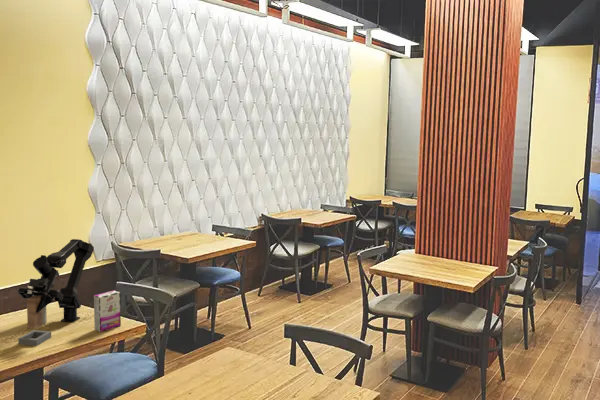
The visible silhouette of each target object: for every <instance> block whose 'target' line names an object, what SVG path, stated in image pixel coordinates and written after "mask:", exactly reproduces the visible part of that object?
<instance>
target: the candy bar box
mask: <svg viewBox="0 0 600 400" xmlns="http://www.w3.org/2000/svg"><path fill="white" fill-rule="evenodd" d="M93 314H94V315H93V317H94V318H93V319H94V322H93V323H94V330H95V331H97V332H100V333H101V332H104V331H108V330H111V329H112V330H113V329H115V328H118V327H121V325H122V322H121V319H122V318H121V292H120V291H117V290H110V291H107V292H102V293H99V294H94V295H93Z"/></svg>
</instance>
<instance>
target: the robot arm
mask: <svg viewBox="0 0 600 400" xmlns="http://www.w3.org/2000/svg"><path fill="white" fill-rule="evenodd" d="M94 251H95V248H94V246H93V244H92V243H89V242H86V241H84V240H82V239H81V238H80V239H78V238H72V239H70V240H69V242H68V243H67V244H66V245H64V246H63V247H62V248H61V249H59V250H58V251H56V252H51V253H50V254H48V255H45V254H43V255H42V254H41V255H40V257H38V258H36V259H35V260H34V261H33V263H32V266H33V267H34V269H35V270H36V271H37V273H39V274H40V275H41V276H40V277H39V278H37V279H35V278H30V279H29V283H28V286H32V287H33V290H35V291H32V290H30V289H29V288H28V287H27V286H26V287H25V286H24V287H22V286H21V287H18V290H17V292H16V293H17V294H18V295H19V297H20V298H22V299H26V300H27V299H28V298H30V297H32V296H41V301H40V303H39V305H38V307H37V310H36V312H37V313H38V312H39V311H41V310H42V309H43V308H44V307H45V306H46V307H47V306H48V305H50V304H51V303H54V301H55V302H57V303H58V307H59V309H63V318H62V319H60V321H61V322H67V323H75V322H76V321H77V320H79V319H80V318H81V316H78V309H81V306H82V301H81V300H80V299H79V292H78V287H79V284H80V280H81V278H82V275H83V271H84V269H85V268H84V267H85V264H86V262H87V261H88V260H89V259H90V258H91V257H92V255H93V253H94ZM73 254H74V258H75V259H74V262H73V265H72V269H71V272H70V275H69V277H68V281H67V283H66V285H65V287H62V288H61V289H60V290H59V289H52V288H54V286H55V285H54V282H55V280H56V277H60V272H59V270H58V269H63V267H65V265H66V263H67V260H68V259H69V257H71V256H72V255H73ZM53 299H54V301H53Z"/></svg>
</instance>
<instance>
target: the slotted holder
mask: <svg viewBox="0 0 600 400" xmlns="http://www.w3.org/2000/svg"><path fill="white" fill-rule="evenodd" d="M51 338H52V331H47V330H39V329H38V330H36V329H32V330H31V331H29V332H28V333H26V334H24V335H21V336H20V337H18V340H17V342H18V345H22V346H23V345H24V346H32V347H38V346H40V345H41V344H43V343H45V342H46V341H47V340H49V339H51Z"/></svg>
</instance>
